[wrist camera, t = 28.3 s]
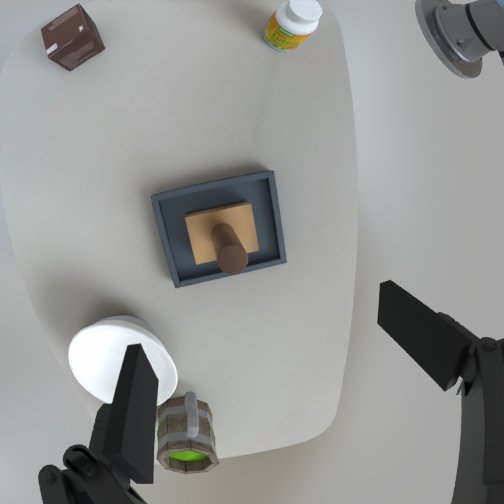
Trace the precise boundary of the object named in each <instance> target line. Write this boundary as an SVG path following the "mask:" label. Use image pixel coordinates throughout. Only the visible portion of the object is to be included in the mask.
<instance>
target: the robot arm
mask: <svg viewBox="0 0 504 504" xmlns="http://www.w3.org/2000/svg"><path fill="white" fill-rule="evenodd" d="M434 18H435V22H436V25H437V27H438V30H439V32H440V34H441V36H442V37H443V39H444V41H445V42H446V44H447V45H448V47H449V48H450V49H451V50H452V52H453V53H454V54H455V55H456V56H457V57H458V58H460V59H461V60H463V61H465V62H474V61H476V60H478V59H480V58H481V57H482V56H484V55H485V54H487V53H488V52H490V51H495V50H498V52H499V55H500V57H501V59H502V62H503V65H504V0H479V1H475V2H472V3H469V4H465V5H461V4H441V5H439V6H437V7H435V9H434ZM377 323H378V324H379V325H380V326H381V327H382V328H383V329H384V330H385V331H386V332H387V333H388V334H389V335H390V336H391V337H392V338H393V339H394V340H395V341H396V342H397V343H398V344H399V345H400V346H401V347H402V348H403V349H404V350H405V351H406V352H407V353H408V354H409V355H410V356H411V357H412V358H413V359H414V360H415V361H416V362H417V363H418V364H419V365H420V366H421V367H422V368H423V370H424V371H425V372H427V374H428V375H429V376H430V377H431V378H432V379H433V380H434V381H435V382H436V383H437V384H438V385H439V386H440V387H441V388H442V389H443V390H444V391H447V390H448V389H450V388H451V387H452V386H454V385H455V384H456V382H457V380H458V377H459V376H460V377H462V378H463V380H462V382H461V384H460V386H459V389H458V391H457V394H456V395H458V394H459V392H460V390H461V395H462V416H461V439H460V452H459V461H458V468H457V475H456V481H455V487H454V493H453V498H452V502H451V504H504V338H503V339H500V340H497V341H496V340H495V339H492V338H489V337H484V338H481V339H479V338H478V337H477V336H475V335H474V334H473V333H471V332H470V331H469V330H467V329H466V328H465V327H464V326H462V325H460V323H458V322H457V321H455V320H454V319H453V318H451V317H450V316H449V315H447V314H444V313H441V312H439V313H435V312H434V311H433V310H432V309H430V308H429V307H428V306H426V305H424V304H423V303H422V302H421V301H419V300H418V299H417V298H415V297H414V296H412V295H411V294H410V293H408V292H407V291H405V290H404V289H402V288H401V287H400V286H398V285H397V284H396V283H394V282H393V281H391V280H389V281H386V282H383V283H380V292H379V308H378V321H377ZM158 386H159V380H158V378H157V376H156V374H155V372H154V370H153V368H152V366H151V364H150V362H149V360H148V358H147V356H146V354H145V352H144V349H143V347H142V345H141V343H138V344H132V345H127V348H126V352H125V355H124V359H123V362H122V366H121V369H120V373H119V377H118V381H117V385H116V389H115V393H114V397H113V401H112V403H109V404H103V405H102V406H101V408H100V409H99V410H98V412H97V415H96V419H95V423H94V427H93V428H94V430H93V432H92V436H91V440H90V445H89V449H88V448H87V447H86V446H84V445H81V444H80V445H73V446H71V447H69V448H68V449H67V450H66V452H65V454H64V456H63V463H64V465H65V466H66V467H67V468H68V469H66V470H60V469H59V468H57V467H56V466H54V465H46V466H44V467H43V468H42V469H41V470H40V472H39V475H38V480H39V486H40V491H41V496H42V500H43V504H147V503H146V502H145V501H144V500H143V499H142V498H141V496H140V495H139V494H138V493H137V492H136V491H135V490H134V489H133V488H132V487H131V486H130V478H131V479H132V480H133V481H134V482H135V483H137V484H153V471H154V441H155V423H156V409H157V397H158Z"/></svg>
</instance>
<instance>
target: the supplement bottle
mask: <svg viewBox="0 0 504 504" xmlns="http://www.w3.org/2000/svg"><path fill="white" fill-rule="evenodd" d="M321 14H322V9H321V6H320V5H319V3H318V2H317V1H316V0H289V1H287V2H284V3H282V4H281V5H280V6H279V7H278V8H277V9H276V11H275V12H274V14H273V16H272V17H271V19H270V20H269V22H268V24H267V25H266V27H265V29H264V39H265V41H266V42H267V43H268V44H269V45H270V46H271V47H272V48H274V49H276V50H279V51H290V50H293V49H295V48H296V47H297V46H298V45H299V44H301V43H302V42H303V41H304V40H305V39H306V38H307V37H308V36H309V35H310V34H311V33H312V32H313V31H314V30H315V29H316V28H317V26H318V19H319V18H320V16H321Z"/></svg>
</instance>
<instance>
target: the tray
mask: <svg viewBox="0 0 504 504" xmlns="http://www.w3.org/2000/svg"><path fill="white" fill-rule="evenodd" d="M151 199H152V204H153V208H154V212H155V216H156V220H157V225H158V228H159V232H160V236H161V240H162V244H163V248H164V251H165V255H166V258H167V262H168V266H169V269H170V272H171V276H172V279H173V283H174V286H175V288H179V287H183V286H188V285H192V284H197V283H201V282H206V281H210V280H214V279H219V278H223V277H227V276H232V275H236V274H227V273H225V272H223V271H222V270H221V269H220V268H219V266H218V263H217V260H215V261H210V262H206V263H201V264H196V262H195V258H194V254H193V250H192V246H191V242H190V238H189V233H188V229H187V225H186V220H185V216H186V213H187V212H191V211H196V210H200V209H205V208H209V207H214V206H219V205H223V204H228V203H233V202H238V201H243V200H247V201H248V202H249V203H251V205H252V211H253V217H254V223H255V229H256V235H257V241H258V247H259V251H254V252H250V253H247V254H248V263H247V265H246V267H245V268H244V269H243V270H242V271H241V272H239V273H237V274H240V273H245V272H249V271H253V270H258V269H262V268H266V267H270V266H274V265H279V264H283V263H287V261H286V253H285V246H284V238H283V231H282V224H281V217H280V210H279V203H278V196H277V190H276V183H275V177H274V171H263V172H257V173H252V174H246V175H241V176H235V177H230V178H225V179H220V180H215V181H210V182H205V183H201V184H196V185H192V186H187V187H183V188H179V189H174V190H170V191H166V192H162V193H158V194H154V195H152V196H151Z"/></svg>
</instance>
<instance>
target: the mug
mask: <svg viewBox="0 0 504 504" xmlns="http://www.w3.org/2000/svg"><path fill="white" fill-rule="evenodd" d="M158 412H159V426H158V432H157V436H158V453H157V458H156V459H157V460H158V461H159V463H160V464H161V465H162V466H163V467H164V468H165V469H168V470H171V471H175V472H179V473H184V474H192V473H202V472H208V471H209V470H211V469H212V468H214V467H215V466H216V465H218V464H219V461H218V458H217V455H216V448H215V436H214V432H213V427H212V414H211V412H210V409H209V407H208V404H207V403H204V402H201V401H199V400H197V398H196V394H195V393H194V392H187V393H186V394H185V397H181V398H174V399H167V400H166V401H165V403H164V404H163V405H162V406H161V407H160V409H159V410H158Z"/></svg>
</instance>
